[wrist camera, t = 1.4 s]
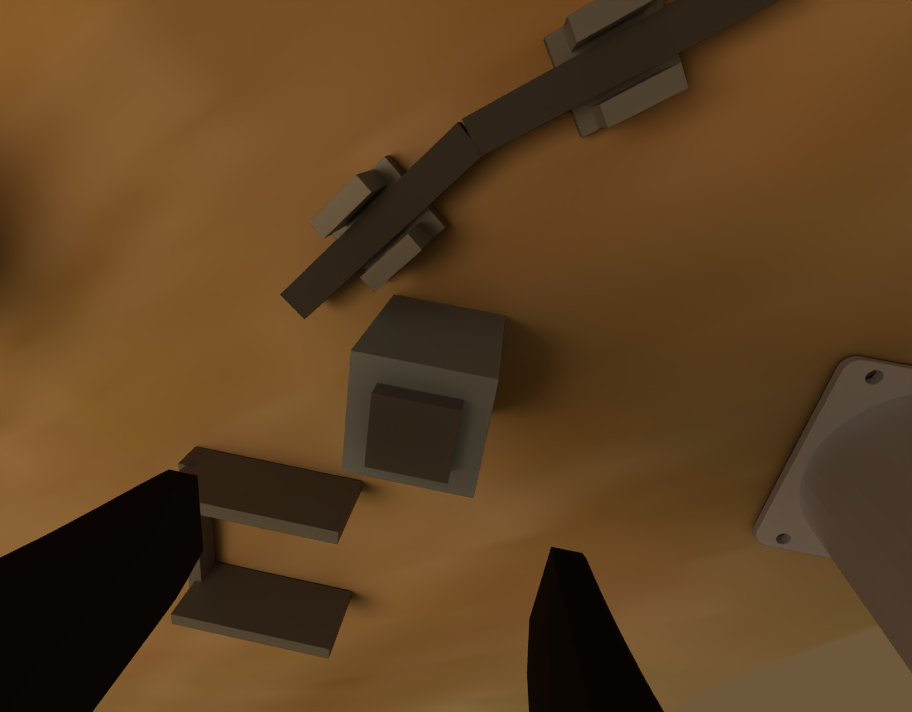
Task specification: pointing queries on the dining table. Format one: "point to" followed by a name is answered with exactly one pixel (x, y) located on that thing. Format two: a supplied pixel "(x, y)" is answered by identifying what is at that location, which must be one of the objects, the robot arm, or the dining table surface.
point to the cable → (512, 130)
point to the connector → (423, 395)
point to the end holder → (257, 593)
